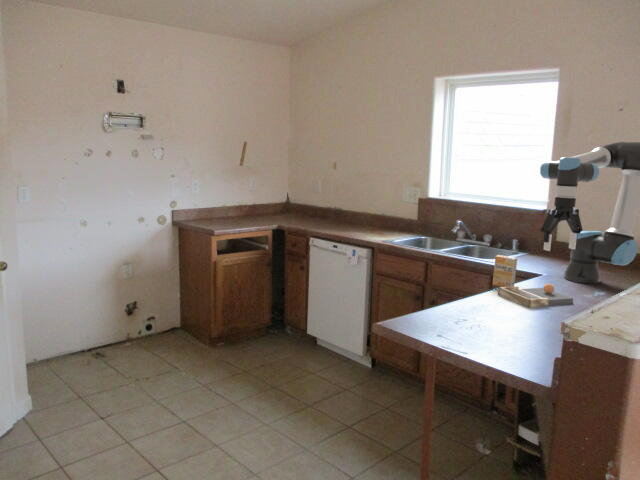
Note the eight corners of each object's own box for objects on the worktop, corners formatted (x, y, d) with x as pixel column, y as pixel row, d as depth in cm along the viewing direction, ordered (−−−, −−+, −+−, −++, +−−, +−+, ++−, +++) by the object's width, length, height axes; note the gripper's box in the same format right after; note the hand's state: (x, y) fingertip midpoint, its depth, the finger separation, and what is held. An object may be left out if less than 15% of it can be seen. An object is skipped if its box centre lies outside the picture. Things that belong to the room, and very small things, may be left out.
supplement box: (491, 285, 229) (494, 256, 227) (495, 283, 233) (498, 254, 231) (510, 289, 224) (514, 259, 222) (514, 287, 228) (517, 257, 226)
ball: (548, 291, 214) (549, 282, 213) (555, 294, 210) (557, 284, 210) (540, 292, 213) (541, 282, 212) (547, 295, 209) (548, 285, 208)
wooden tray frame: (516, 293, 218) (517, 286, 217) (547, 306, 201) (548, 298, 200) (498, 294, 215) (498, 287, 214) (528, 307, 198) (529, 299, 198)
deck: (543, 292, 221) (544, 287, 221) (572, 303, 206) (573, 298, 206) (517, 293, 217) (518, 289, 216) (545, 305, 202) (546, 300, 202)
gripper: (580, 195, 216) (574, 246, 220) (534, 196, 206) (528, 249, 210) (596, 197, 209) (589, 249, 213) (549, 198, 199) (543, 252, 203)
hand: (559, 249), depth 211 cm, fingers open, 13 cm apart
